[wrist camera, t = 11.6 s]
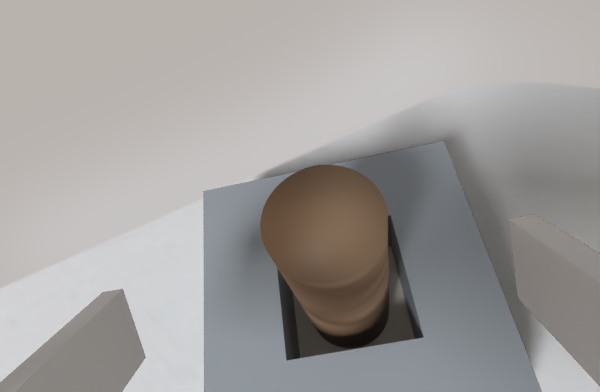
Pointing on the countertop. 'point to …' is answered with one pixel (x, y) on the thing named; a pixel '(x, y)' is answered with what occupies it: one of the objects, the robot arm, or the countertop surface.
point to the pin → (332, 250)
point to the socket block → (402, 296)
